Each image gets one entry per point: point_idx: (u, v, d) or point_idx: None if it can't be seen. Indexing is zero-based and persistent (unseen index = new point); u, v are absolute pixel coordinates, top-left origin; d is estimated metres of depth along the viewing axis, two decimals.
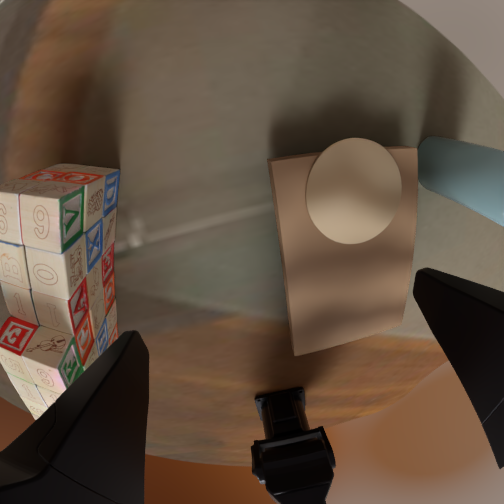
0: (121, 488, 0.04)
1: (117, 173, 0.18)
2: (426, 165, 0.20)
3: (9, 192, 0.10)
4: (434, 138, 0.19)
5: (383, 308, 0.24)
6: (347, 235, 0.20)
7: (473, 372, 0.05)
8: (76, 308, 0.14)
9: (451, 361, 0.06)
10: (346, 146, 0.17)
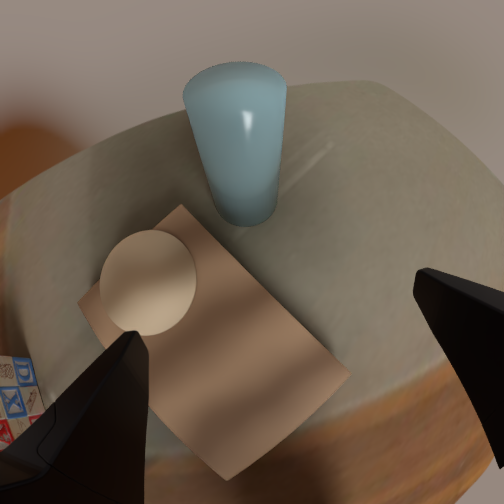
0: (121, 488, 0.04)
1: (27, 360, 0.19)
2: (218, 207, 0.22)
3: None
4: None
5: (290, 372, 0.17)
6: (159, 322, 0.18)
7: (473, 372, 0.05)
8: None
9: (451, 361, 0.06)
10: (114, 255, 0.20)
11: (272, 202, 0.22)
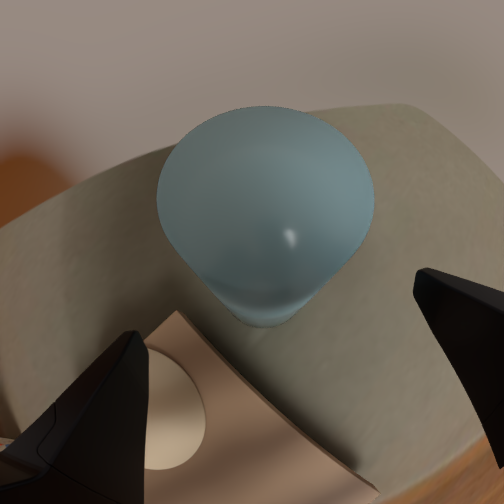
0: (121, 488, 0.04)
1: None
2: None
3: None
4: None
5: (317, 501, 0.11)
6: (163, 459, 0.12)
7: (473, 372, 0.05)
8: None
9: (451, 361, 0.06)
10: None
11: None
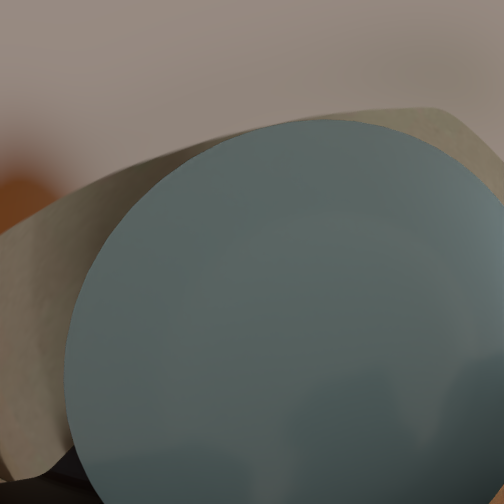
0: None
1: None
2: None
3: None
4: None
5: None
6: None
7: None
8: None
9: None
10: None
11: None
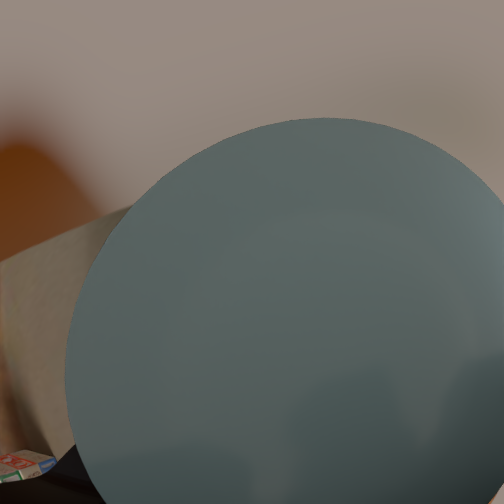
0: None
1: (52, 460, 0.15)
2: None
3: None
4: None
5: None
6: None
7: None
8: None
9: None
10: None
11: None
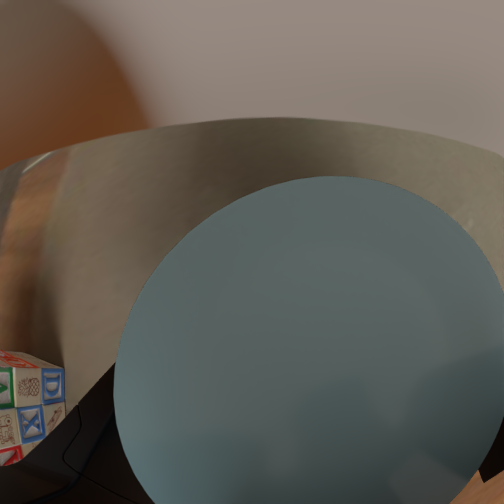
0: None
1: (60, 371, 0.16)
2: None
3: None
4: None
5: None
6: None
7: None
8: (6, 464, 0.07)
9: None
10: None
11: None
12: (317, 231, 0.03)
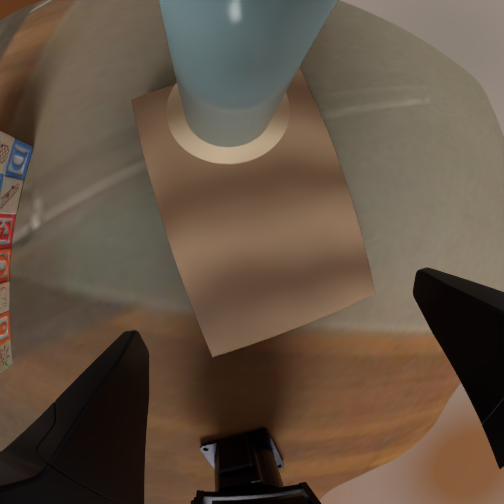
0: (122, 488, 0.04)
1: (29, 148, 0.16)
2: (186, 116, 0.14)
3: None
4: None
5: (330, 263, 0.17)
6: (227, 152, 0.16)
7: (473, 372, 0.05)
8: None
9: (451, 361, 0.06)
10: None
11: (265, 123, 0.14)
12: None
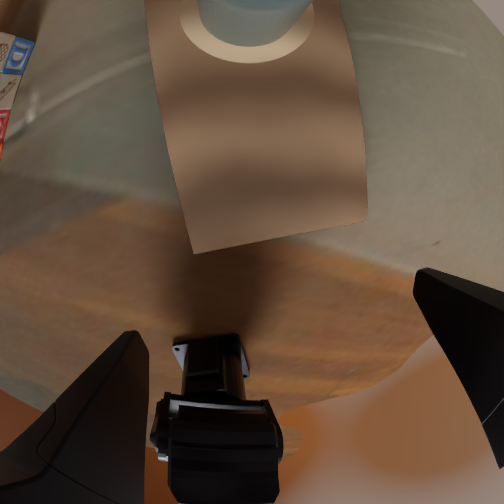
0: (122, 488, 0.04)
1: (30, 43, 0.11)
2: (200, 11, 0.10)
3: None
4: None
5: (328, 179, 0.16)
6: (238, 51, 0.12)
7: (473, 372, 0.05)
8: None
9: (451, 361, 0.06)
10: None
11: (284, 28, 0.10)
12: None
